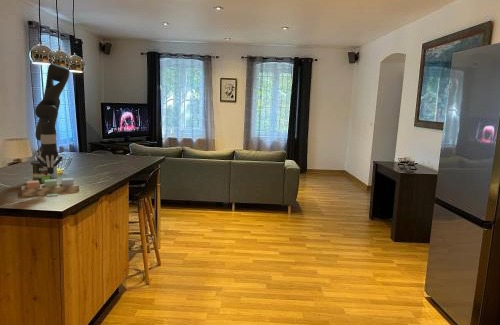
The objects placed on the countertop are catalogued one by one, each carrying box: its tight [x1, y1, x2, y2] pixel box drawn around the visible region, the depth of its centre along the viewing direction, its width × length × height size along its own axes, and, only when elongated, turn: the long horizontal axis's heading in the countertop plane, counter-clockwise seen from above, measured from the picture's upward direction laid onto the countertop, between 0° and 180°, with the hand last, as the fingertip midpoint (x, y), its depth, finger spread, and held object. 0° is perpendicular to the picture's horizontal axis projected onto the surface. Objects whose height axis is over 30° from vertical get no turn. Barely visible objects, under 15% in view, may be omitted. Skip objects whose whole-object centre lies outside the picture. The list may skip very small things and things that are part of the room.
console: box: [21, 181, 80, 198], centre depth 202 cm, size 27×10×4 cm, turn 121°
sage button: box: [44, 178, 58, 187], centre depth 202 cm, size 6×6×4 cm
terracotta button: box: [26, 180, 39, 189], centre depth 197 cm, size 6×6×4 cm
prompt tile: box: [46, 193, 59, 198], centre depth 195 cm, size 5×5×1 cm
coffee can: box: [30, 160, 52, 185], centre depth 215 cm, size 10×10×14 cm
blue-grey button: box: [61, 177, 75, 186], centre depth 206 cm, size 6×6×4 cm
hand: (50, 174), depth 201 cm, fingers closed
